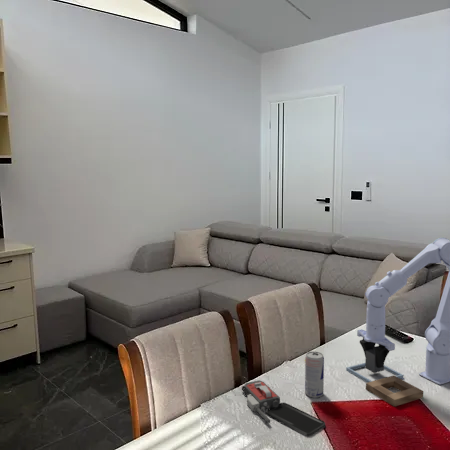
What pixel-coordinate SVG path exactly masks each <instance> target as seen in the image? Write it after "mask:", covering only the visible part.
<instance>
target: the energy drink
mask: <svg viewBox="0 0 450 450" xmlns="http://www.w3.org/2000/svg"><path fill="white" fill-rule="evenodd" d="M304 359H305V361H304V363H305V364H304V366H305V367H304V369H305V370H304V371H305V372H304V380H305V381H304V394H305V395H306V396H308V397H310V398H313V399H318V398H322V396H323V395H324V384H325V383H324V379H325V375H324V374H325V372H324V371H325V358H324V354H323V353H322V352H318V351H308V352H306V355H305V358H304Z"/></svg>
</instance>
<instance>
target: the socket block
mask: <svg viewBox="0 0 450 450" xmlns="http://www.w3.org/2000/svg"><path fill="white" fill-rule="evenodd" d="M396 376H397V375H395V374H393V375H391V376H387V377H383V378H380V379H376V380H371V381H372V382H368V383H367V382H365V390H366V391H368V392H370V393H371V394H373V395H374V396H376V397H377V398H380V399H381V400H383V401H384V402H386V403H387V404H389V405H391V406H392V407H398V406H401V405H405V404H407V403H411V402H413V401H417V400H420V399H423V398H424V390H422V389H420V388H418V387H417V386H414V385H413V384H411V383H409V382H407V381H406V380H403V379H400V378H398V377H396ZM392 388H394V389H396V390H398V391H397V392H393V391H391V390H390V389H392Z"/></svg>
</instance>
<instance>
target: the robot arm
mask: <svg viewBox="0 0 450 450" xmlns="http://www.w3.org/2000/svg"><path fill="white" fill-rule="evenodd" d="M442 262H443V264H444V265H445V266H446V268H447V270H448V274H447V278H446V280H445V283H444V284H445V285H444V287H443V290H442V295H441V298H440V302H439V305H438V308H437V312H436V315H435V317H434V318H433V319H432V320H431V322H430V324H429V326H428V327H427V328H426V330H425V331H424V337H425V340H426V341H427V345H426V347H425V348H426V349H425V367H424V368H425V371H422V372H418V375H419V376H421V377H423V378H425V379H427V380H429V381H431V382H433V383H435V384H437V385H444V384H446V383H449V382H450V239H448V238H447V237H439V238H436V239H435V240H434V241H433V242H431V243H429V244H427V245H426V247H424V249H422V250H421V251H420V252H419V253H417V255H415V256H414V258H412V259H411V260H410V261H408V262H407V263H406V264H405V265H404V266H403V267H402V268H401V269H393V270H392V271H391V270H389V271H387V272H386V275H385V276H384V277H383V278H382V279H381V280H379V281H376V282H374V284H373V285H369V287H367V289H366V291H365V292H364V295H365V298H366V299H367V302H366V303H367V304H366V314H365V315H366V319H365V320H366V323H365V326H366V327H365V328H366V329H358V330H357V331H356V332H357V335H356V336H358V337H359V338H362V339H360V340H359V344H360V345H361V347H362V349H363V353H364V356H365V358H366V350H370V349H374V351H375V354H376V366H377V368H381V367H383V365H385V361H386V358H387V356H388V355H389V353H390V352H391V351H395V350H396V344H395V343H393V342H392V341H391V340H390V339H388V338H387V337H386V305H387V304H388V302H389V299H390V298H391V297H392V296H394V295H395V294H396V293H397V292H398V291H399V290H401V289H403V288H404V287H405V286H406V285H407V283H408V279H409V278H410V277H412V276H413V275H415V274H416V273H417V272H419V271H420V270H422V269H423V268H424V267H426V266H427V265H429V264H442Z"/></svg>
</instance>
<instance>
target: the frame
mask: <svg viewBox="0 0 450 450" xmlns="http://www.w3.org/2000/svg"><path fill="white" fill-rule="evenodd" d="M361 368H365V362H364V363H360V364H354V365H351V366H347V367H345V371H347V372H348V373H350V374H352V375H353V376H355V377H356V378H359V379H360V380H362V381H363V382H365V383H368V382H372V381H373V380H371V379H369V378H368V377H366V376H364V375H362V374H360V373H359V372H357V371H355V370H358V369H361ZM384 371H387V372H389V373H392V374H393V375H394V376H396V377H398V378H400V379H401V380H403V379H404V374H402V373H401V372H398V371H397V370H394V369H392V368H391V367H389V366H387V365H385V364H384Z"/></svg>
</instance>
